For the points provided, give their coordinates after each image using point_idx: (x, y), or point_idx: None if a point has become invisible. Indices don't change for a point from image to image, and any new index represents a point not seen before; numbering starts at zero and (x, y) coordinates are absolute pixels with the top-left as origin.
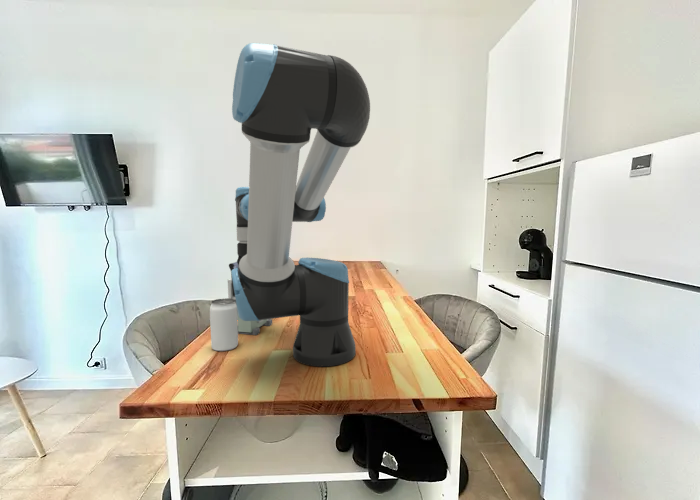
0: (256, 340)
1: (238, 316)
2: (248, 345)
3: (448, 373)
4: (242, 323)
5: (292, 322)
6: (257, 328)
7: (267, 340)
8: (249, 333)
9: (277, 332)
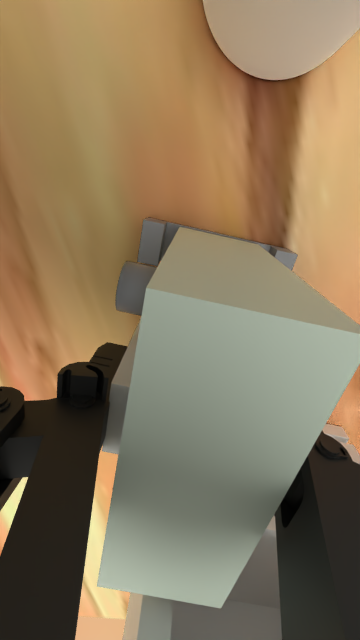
0: (120, 128)
1: (276, 261)
2: (138, 23)
3: None
4: (236, 246)
5: (43, 394)
6: (145, 247)
7: (57, 131)
8: (189, 227)
9: (56, 264)
